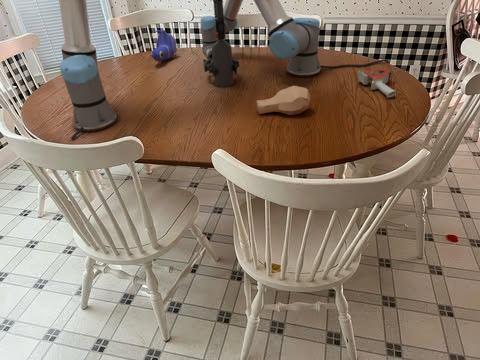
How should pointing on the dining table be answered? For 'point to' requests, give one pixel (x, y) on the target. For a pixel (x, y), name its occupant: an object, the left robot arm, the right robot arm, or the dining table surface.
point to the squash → (286, 101)
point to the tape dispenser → (377, 80)
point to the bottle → (223, 63)
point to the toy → (164, 47)
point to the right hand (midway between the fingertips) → (225, 71)
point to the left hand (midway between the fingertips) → (220, 37)
